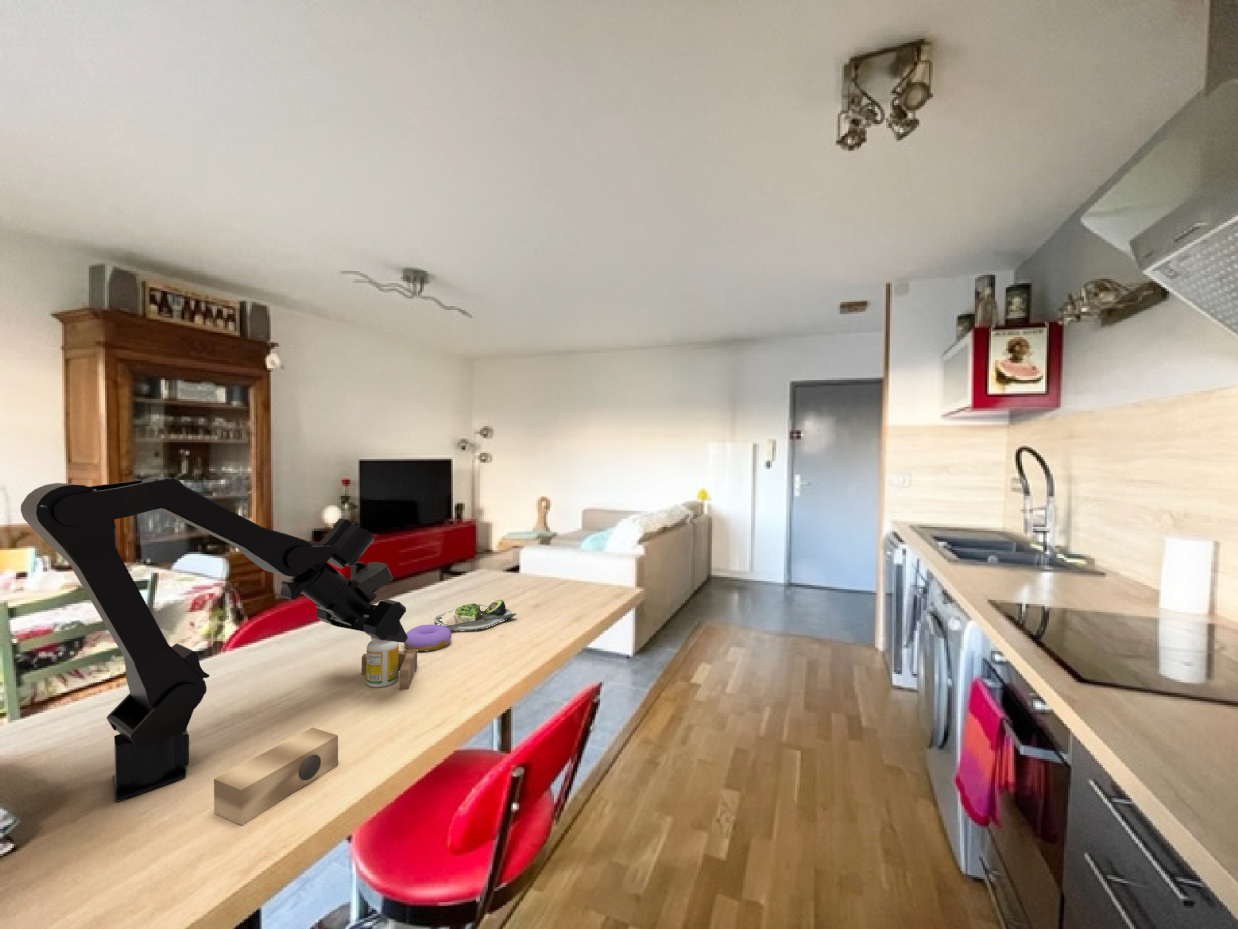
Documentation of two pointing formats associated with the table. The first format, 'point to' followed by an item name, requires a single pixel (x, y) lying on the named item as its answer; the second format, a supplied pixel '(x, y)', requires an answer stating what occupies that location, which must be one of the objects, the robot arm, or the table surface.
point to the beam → (274, 775)
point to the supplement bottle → (382, 663)
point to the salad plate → (477, 616)
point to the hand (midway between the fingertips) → (390, 635)
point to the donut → (428, 637)
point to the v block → (401, 666)
